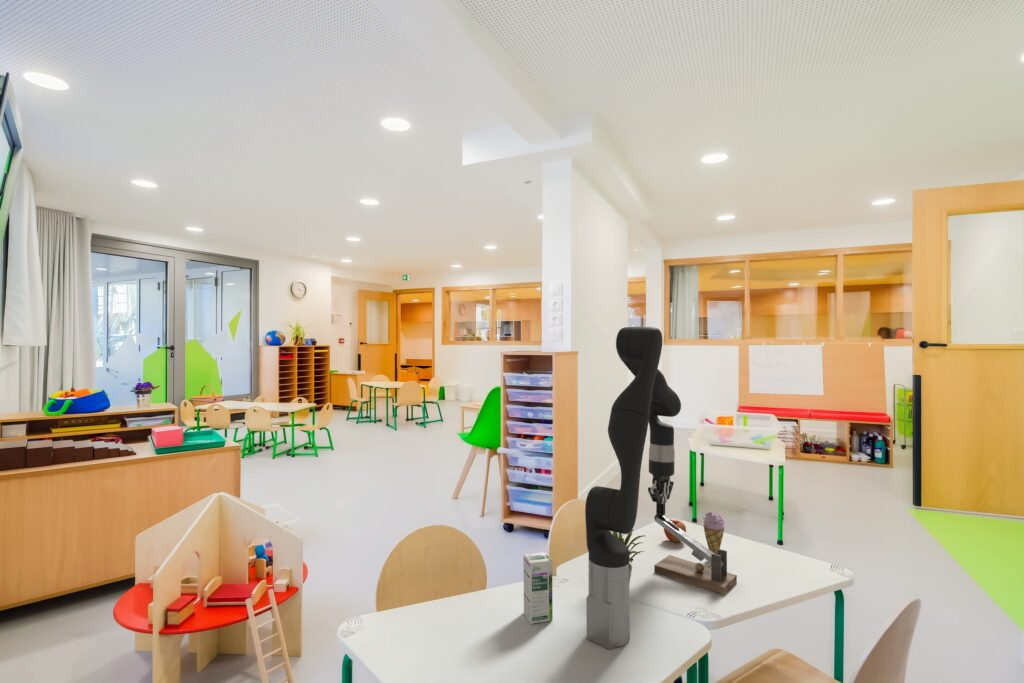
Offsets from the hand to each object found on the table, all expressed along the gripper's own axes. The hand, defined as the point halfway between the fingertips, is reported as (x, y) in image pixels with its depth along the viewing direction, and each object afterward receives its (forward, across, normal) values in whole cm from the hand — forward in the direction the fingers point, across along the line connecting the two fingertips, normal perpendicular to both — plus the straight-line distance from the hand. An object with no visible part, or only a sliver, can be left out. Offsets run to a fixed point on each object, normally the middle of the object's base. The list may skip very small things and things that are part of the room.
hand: (660, 514), depth 147 cm
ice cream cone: (+16, +17, -10) cm, 25 cm away
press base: (+15, 0, -11) cm, 19 cm away
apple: (+16, +22, +5) cm, 28 cm away
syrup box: (+15, -48, +8) cm, 51 cm away
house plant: (+15, -21, 0) cm, 26 cm away
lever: (+7, 0, -7) cm, 10 cm away
